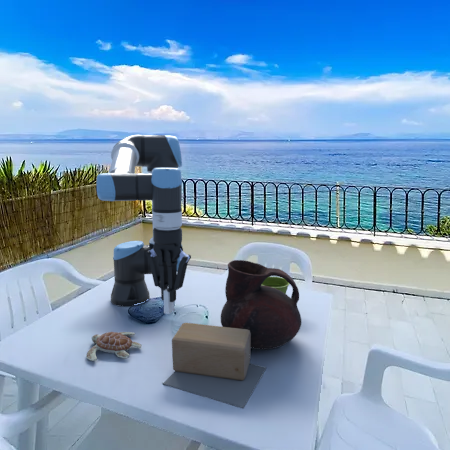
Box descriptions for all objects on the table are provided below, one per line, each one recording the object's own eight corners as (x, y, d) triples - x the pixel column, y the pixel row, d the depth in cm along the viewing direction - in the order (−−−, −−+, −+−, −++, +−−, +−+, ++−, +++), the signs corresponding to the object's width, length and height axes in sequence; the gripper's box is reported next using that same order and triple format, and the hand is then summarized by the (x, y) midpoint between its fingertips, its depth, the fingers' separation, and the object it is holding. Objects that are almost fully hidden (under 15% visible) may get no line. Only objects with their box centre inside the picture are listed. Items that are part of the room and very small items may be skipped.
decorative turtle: (112, 331, 124) (112, 317, 123) (153, 342, 117) (153, 327, 116) (69, 357, 107) (68, 341, 106) (113, 371, 100) (112, 355, 100)
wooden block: (171, 372, 100) (244, 382, 95) (170, 339, 97) (245, 348, 93) (183, 351, 109) (250, 360, 105) (182, 320, 107) (251, 328, 102)
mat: (195, 350, 111) (195, 350, 111) (266, 368, 102) (266, 367, 102) (162, 384, 95) (162, 383, 95) (243, 408, 86) (243, 407, 86)
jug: (295, 369, 102) (299, 283, 97) (209, 354, 109) (209, 273, 105) (303, 329, 126) (307, 258, 121) (232, 318, 133) (233, 251, 128)
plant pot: (260, 301, 148) (261, 275, 146) (290, 305, 145) (291, 278, 143) (254, 313, 137) (255, 285, 135) (286, 318, 134) (287, 288, 132)
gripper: (138, 227, 96) (141, 312, 100) (181, 232, 91) (182, 322, 95) (154, 222, 103) (156, 303, 107) (196, 227, 97) (196, 311, 102)
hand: (169, 311), depth 101 cm, fingers closed
